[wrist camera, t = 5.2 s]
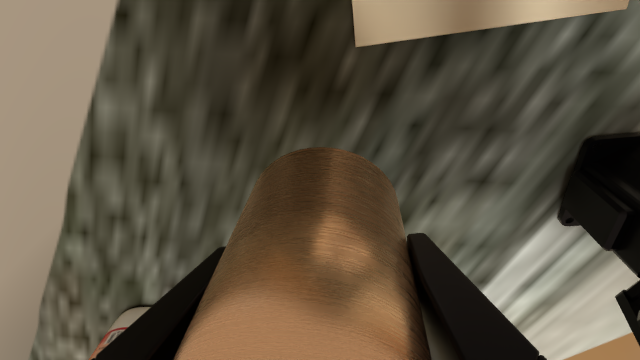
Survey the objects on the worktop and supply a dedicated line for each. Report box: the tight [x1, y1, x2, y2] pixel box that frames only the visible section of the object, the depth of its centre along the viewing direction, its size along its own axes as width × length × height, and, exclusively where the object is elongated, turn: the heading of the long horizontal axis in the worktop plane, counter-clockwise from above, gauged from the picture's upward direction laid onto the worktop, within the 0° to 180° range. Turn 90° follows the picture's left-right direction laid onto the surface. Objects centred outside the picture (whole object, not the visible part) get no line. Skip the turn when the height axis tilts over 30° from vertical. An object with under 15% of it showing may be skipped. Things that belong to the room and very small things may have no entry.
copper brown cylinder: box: [173, 147, 432, 360], centre depth 6 cm, size 4×4×8 cm
